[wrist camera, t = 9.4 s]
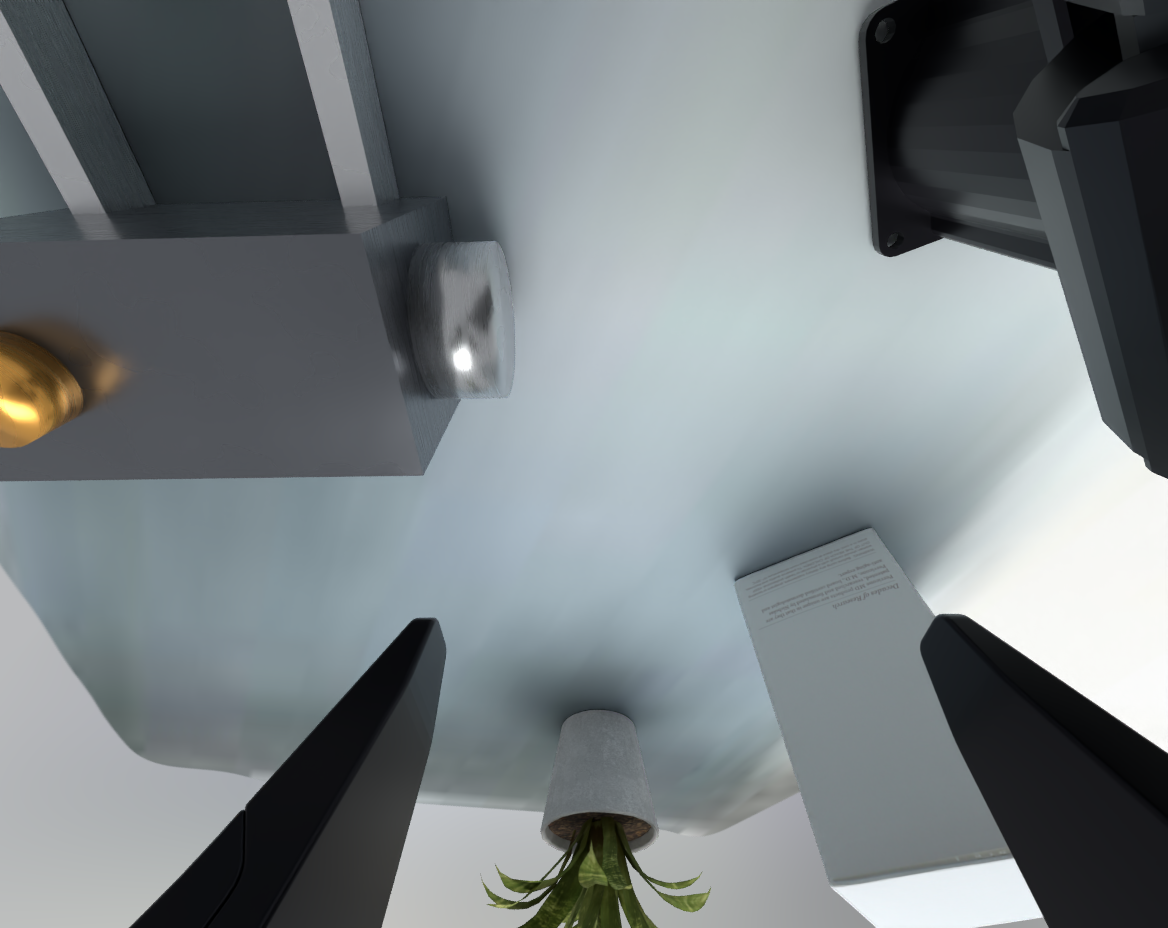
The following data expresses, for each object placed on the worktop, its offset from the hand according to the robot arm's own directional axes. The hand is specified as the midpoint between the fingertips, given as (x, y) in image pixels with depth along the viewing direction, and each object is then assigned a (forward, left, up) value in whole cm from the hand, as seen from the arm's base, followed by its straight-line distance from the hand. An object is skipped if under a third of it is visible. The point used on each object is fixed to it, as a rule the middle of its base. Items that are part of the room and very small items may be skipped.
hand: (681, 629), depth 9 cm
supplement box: (-16, -5, -12) cm, 21 cm away
